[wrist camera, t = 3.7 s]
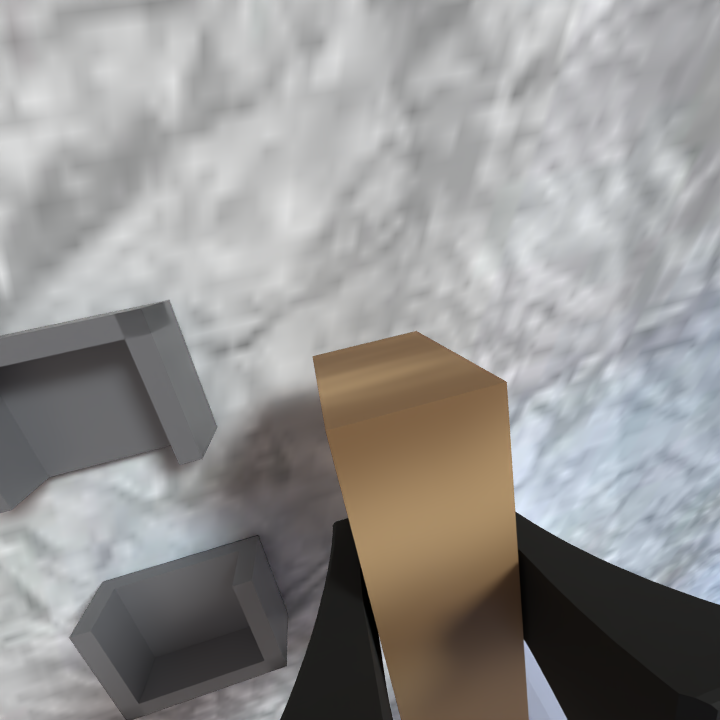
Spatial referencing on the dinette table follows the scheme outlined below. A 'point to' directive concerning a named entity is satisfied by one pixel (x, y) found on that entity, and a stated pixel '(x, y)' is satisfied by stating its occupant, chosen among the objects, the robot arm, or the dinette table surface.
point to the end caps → (119, 440)
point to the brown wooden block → (431, 521)
